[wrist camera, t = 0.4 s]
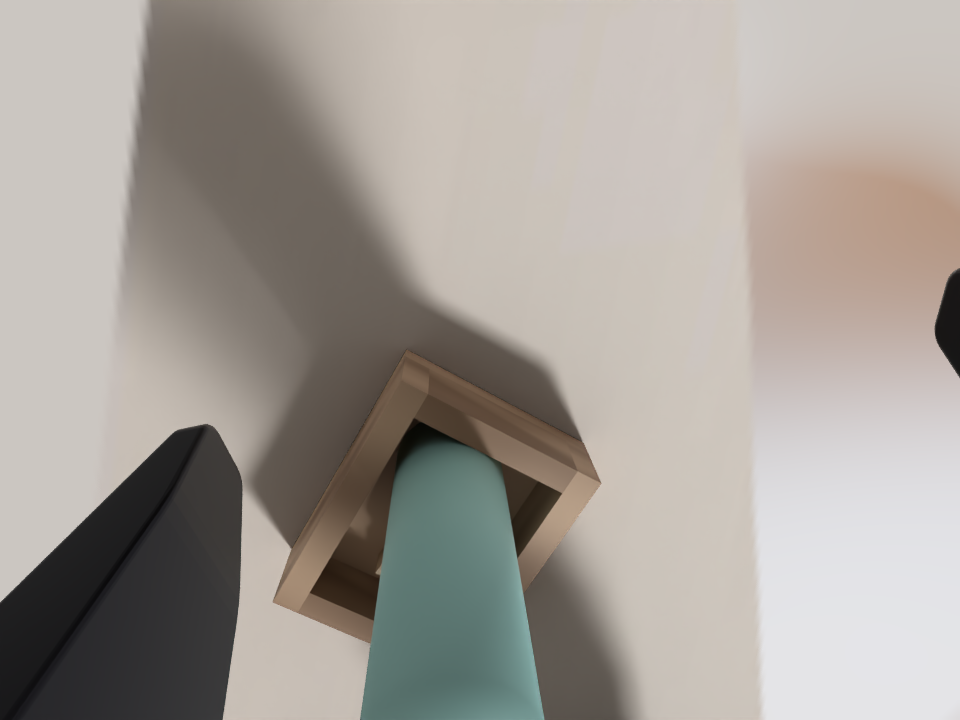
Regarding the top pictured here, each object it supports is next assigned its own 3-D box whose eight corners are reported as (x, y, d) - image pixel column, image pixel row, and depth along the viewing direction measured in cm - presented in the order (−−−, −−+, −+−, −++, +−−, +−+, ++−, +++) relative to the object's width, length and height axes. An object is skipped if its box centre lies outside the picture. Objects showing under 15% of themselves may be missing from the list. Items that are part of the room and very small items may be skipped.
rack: (459, 624, 30) (461, 682, 27) (291, 549, 29) (272, 602, 26) (583, 442, 28) (601, 483, 25) (406, 349, 26) (401, 380, 23)
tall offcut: (467, 523, 28) (486, 842, 15) (378, 480, 27) (323, 781, 15) (519, 444, 27) (583, 718, 14) (428, 396, 26) (414, 645, 14)
